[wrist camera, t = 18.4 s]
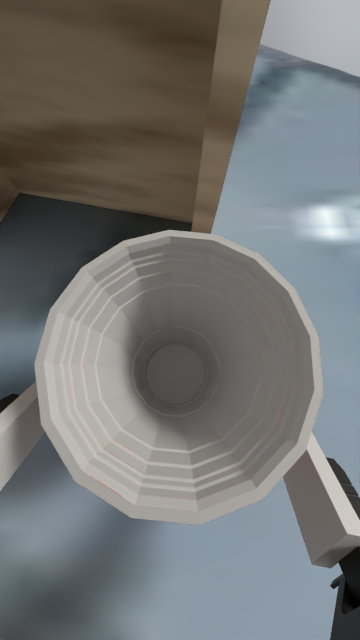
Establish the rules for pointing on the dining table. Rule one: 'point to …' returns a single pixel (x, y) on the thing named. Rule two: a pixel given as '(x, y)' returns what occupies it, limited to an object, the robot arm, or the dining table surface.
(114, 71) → the oak cabinet
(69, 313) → the plastic cup
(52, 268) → the dining table surface
